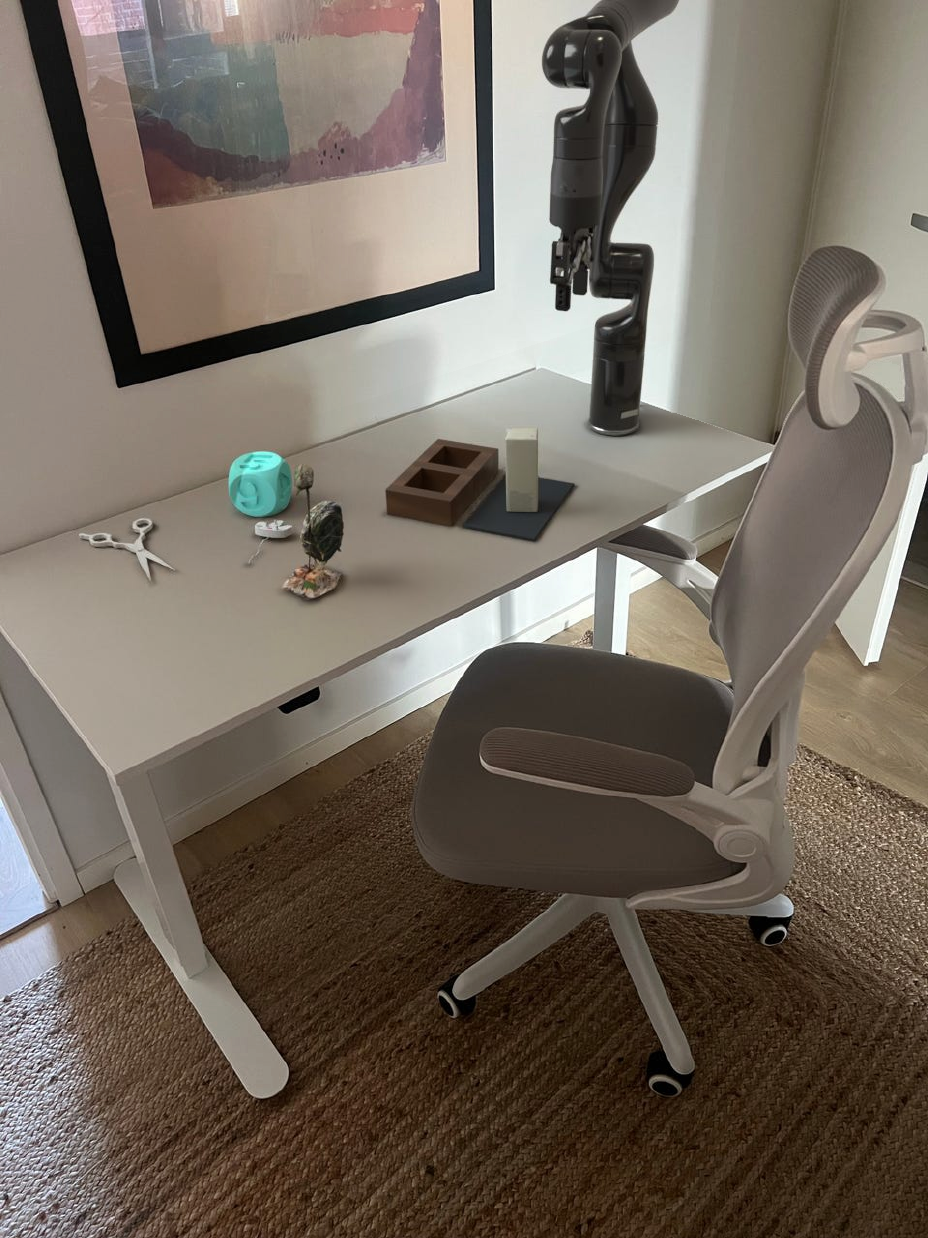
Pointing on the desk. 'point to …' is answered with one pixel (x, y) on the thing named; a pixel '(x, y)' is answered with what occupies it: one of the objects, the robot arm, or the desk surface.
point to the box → (521, 469)
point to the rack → (442, 482)
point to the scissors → (135, 547)
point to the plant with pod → (316, 541)
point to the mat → (518, 524)
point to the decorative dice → (260, 484)
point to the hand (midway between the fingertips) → (571, 302)
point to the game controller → (272, 530)
